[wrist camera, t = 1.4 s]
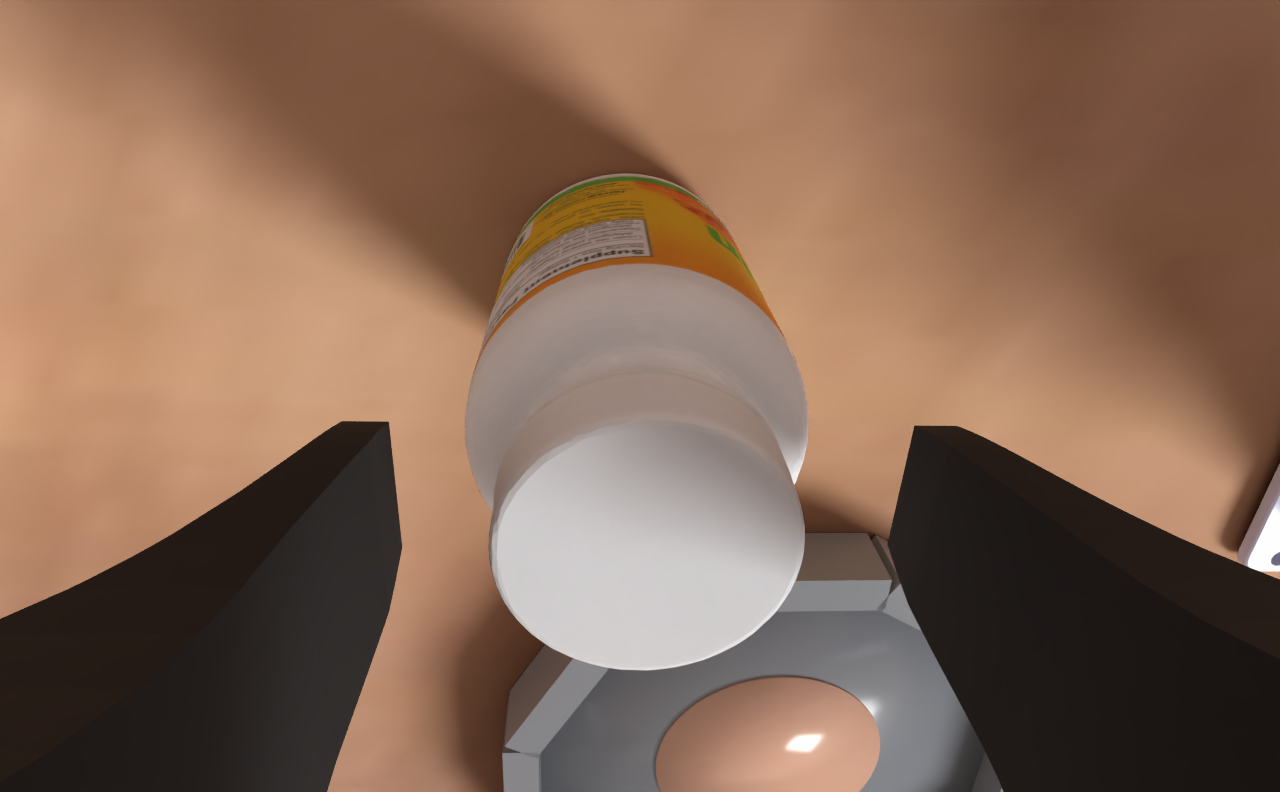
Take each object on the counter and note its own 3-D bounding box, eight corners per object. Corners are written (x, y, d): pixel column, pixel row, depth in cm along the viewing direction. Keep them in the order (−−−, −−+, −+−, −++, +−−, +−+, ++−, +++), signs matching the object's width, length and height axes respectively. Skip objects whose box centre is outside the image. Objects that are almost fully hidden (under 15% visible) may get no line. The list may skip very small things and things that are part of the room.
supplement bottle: (768, 344, 19) (908, 640, 11) (563, 420, 20) (541, 754, 12) (694, 128, 17) (798, 289, 8) (464, 223, 18) (342, 460, 9)
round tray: (1073, 532, 23) (1115, 578, 21) (949, 883, 30) (972, 939, 28) (501, 534, 21) (495, 583, 20) (515, 900, 29) (511, 961, 27)
